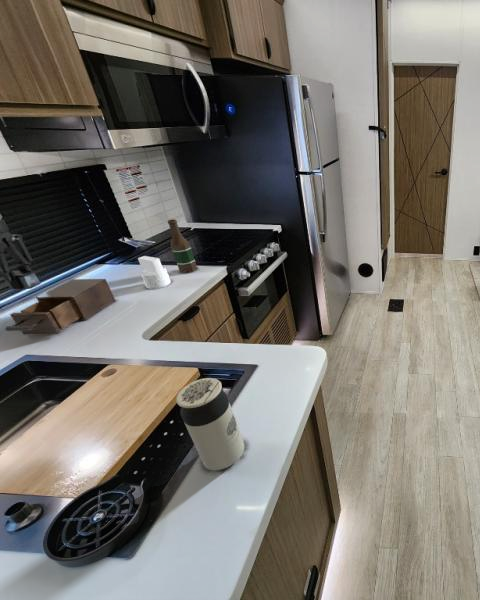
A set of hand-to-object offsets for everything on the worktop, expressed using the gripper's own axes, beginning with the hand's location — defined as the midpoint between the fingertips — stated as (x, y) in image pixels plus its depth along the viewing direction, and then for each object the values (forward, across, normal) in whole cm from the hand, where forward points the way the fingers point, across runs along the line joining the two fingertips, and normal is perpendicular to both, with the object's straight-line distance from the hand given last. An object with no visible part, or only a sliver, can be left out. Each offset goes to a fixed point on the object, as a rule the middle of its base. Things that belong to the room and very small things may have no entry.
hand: (25, 285), depth 119 cm
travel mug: (+10, +63, +96) cm, 116 cm away
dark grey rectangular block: (0, 0, 0) cm, 0 cm away
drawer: (+10, +13, +16) cm, 23 cm away
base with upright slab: (+10, -22, +30) cm, 39 cm away
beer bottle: (+10, -37, +35) cm, 52 cm away
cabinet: (+10, 0, +16) cm, 19 cm away
